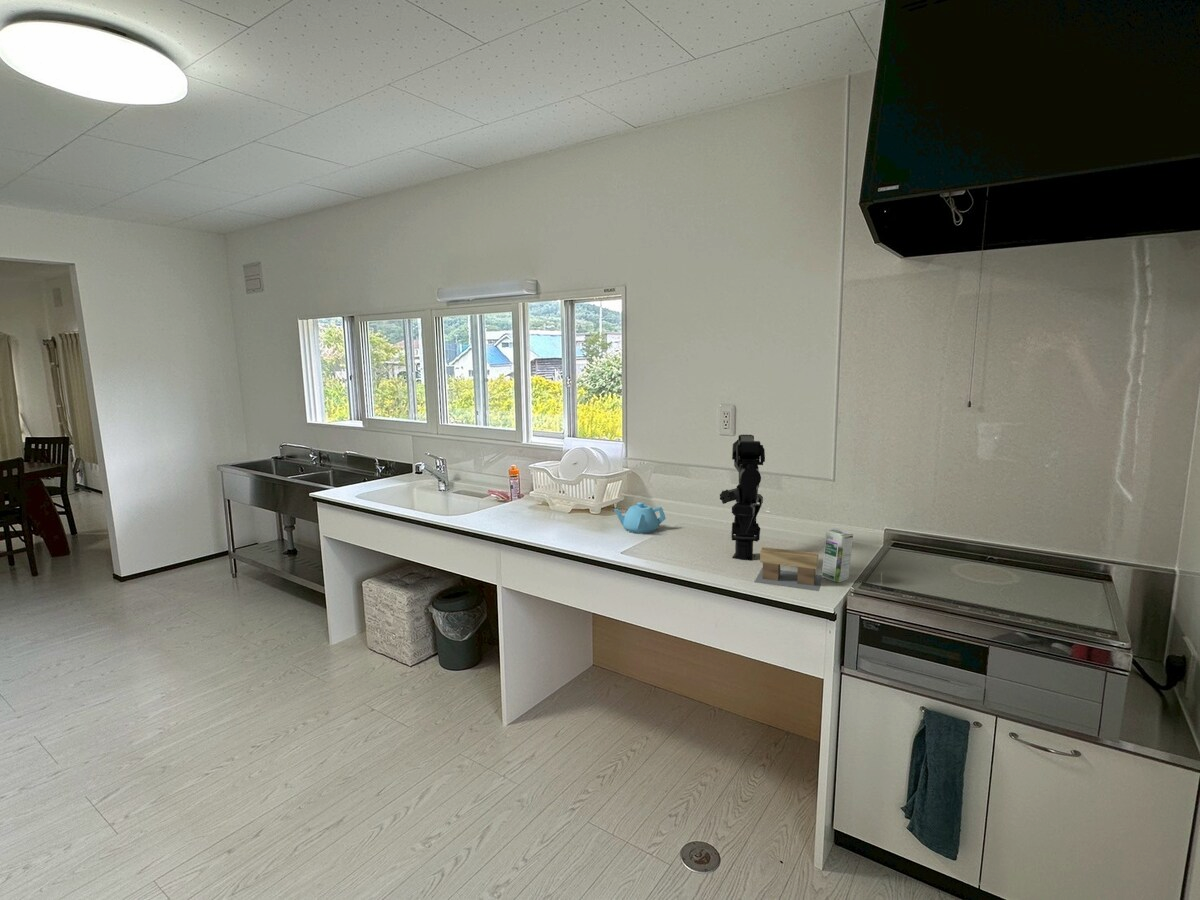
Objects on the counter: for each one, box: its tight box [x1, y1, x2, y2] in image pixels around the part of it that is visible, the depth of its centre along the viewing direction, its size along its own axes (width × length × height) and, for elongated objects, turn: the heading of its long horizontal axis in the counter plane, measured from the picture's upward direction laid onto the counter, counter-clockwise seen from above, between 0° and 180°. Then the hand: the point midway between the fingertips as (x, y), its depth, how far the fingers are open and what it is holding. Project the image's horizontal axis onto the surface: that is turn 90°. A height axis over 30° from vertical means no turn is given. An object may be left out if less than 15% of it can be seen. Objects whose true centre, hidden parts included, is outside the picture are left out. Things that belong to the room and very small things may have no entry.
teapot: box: [613, 501, 667, 534], centre depth 238 cm, size 15×15×11 cm
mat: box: [754, 567, 823, 592], centre depth 183 cm, size 14×18×1 cm
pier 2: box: [797, 567, 817, 586], centre depth 179 cm, size 4×4×5 cm
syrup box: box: [821, 528, 854, 583], centre depth 182 cm, size 6×6×14 cm
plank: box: [759, 546, 819, 570], centre depth 181 cm, size 4×16×4 cm, turn 66°
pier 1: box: [762, 562, 781, 581], centre depth 183 cm, size 4×4×5 cm
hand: (747, 530), depth 190 cm, fingers open, 9 cm apart
